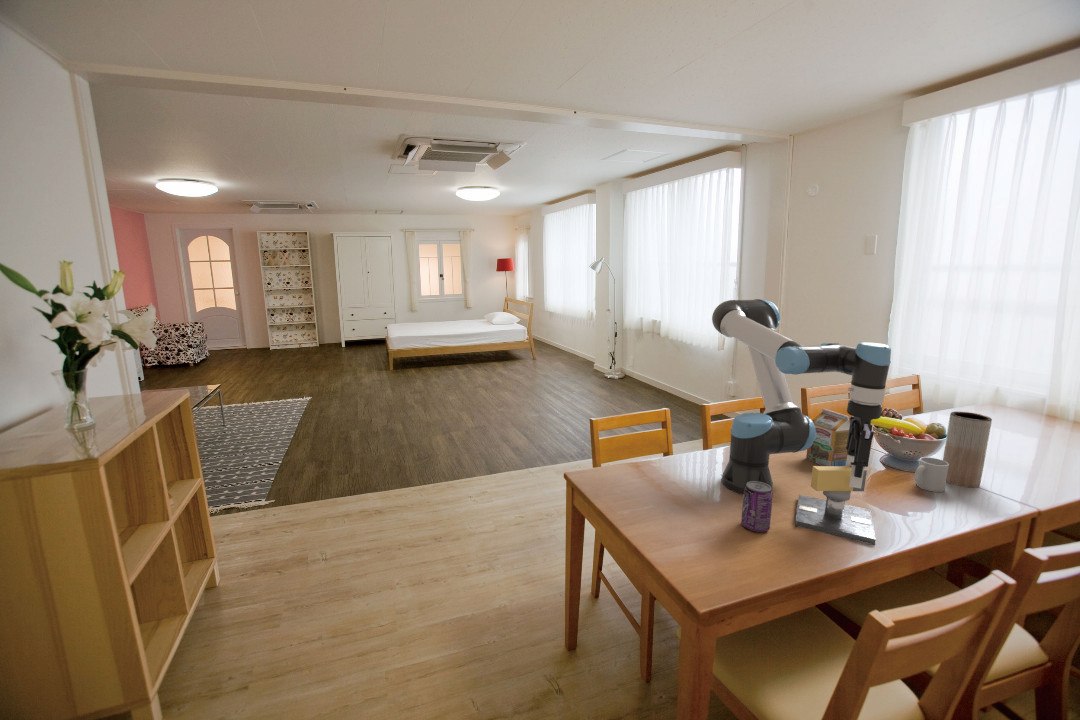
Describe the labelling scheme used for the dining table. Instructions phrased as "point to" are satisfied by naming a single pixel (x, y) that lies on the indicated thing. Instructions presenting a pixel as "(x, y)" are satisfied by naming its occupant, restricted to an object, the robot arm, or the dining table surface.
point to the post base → (835, 518)
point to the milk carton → (830, 439)
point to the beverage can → (757, 506)
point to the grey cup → (931, 474)
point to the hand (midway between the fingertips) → (852, 482)
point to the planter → (966, 448)
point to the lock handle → (834, 481)
